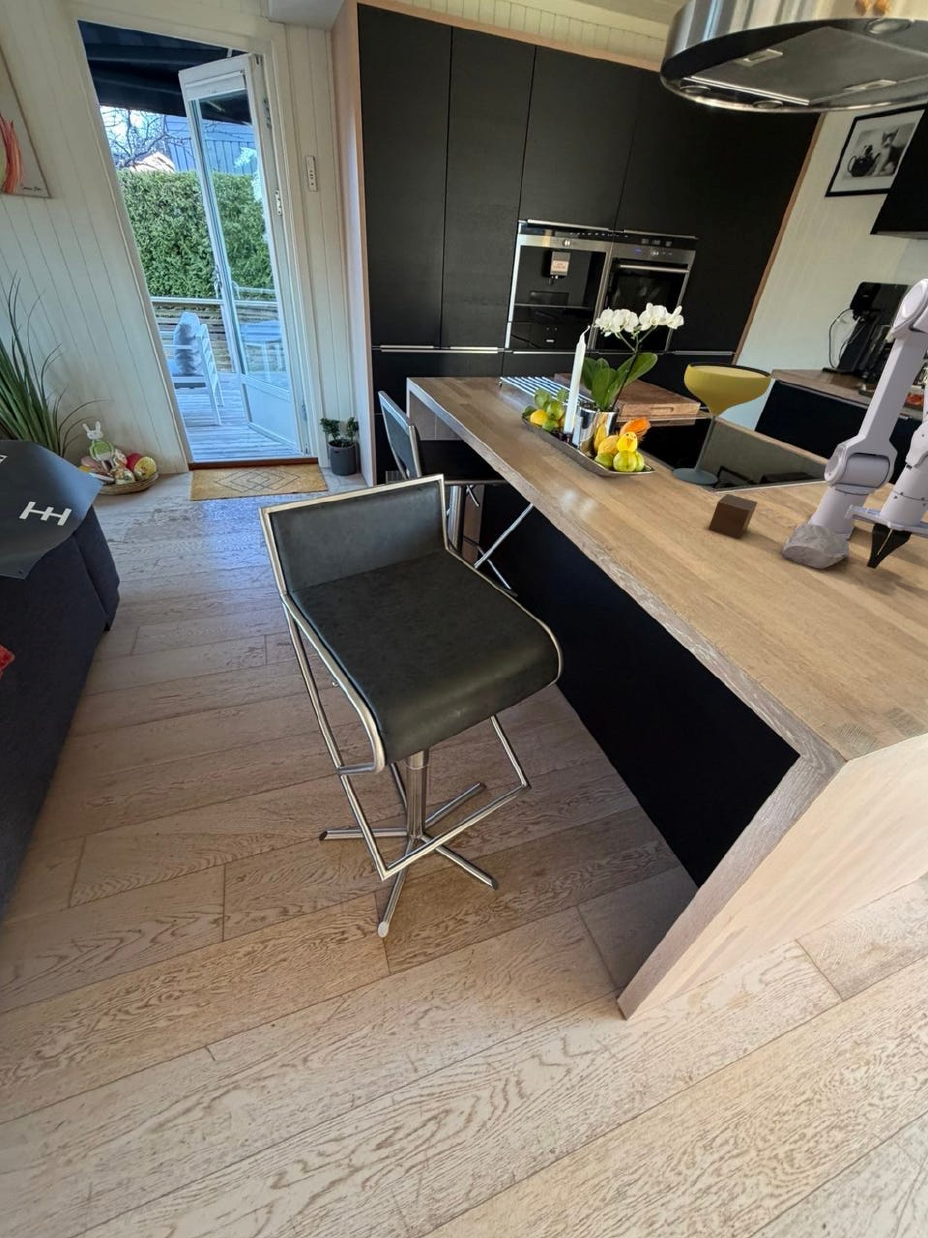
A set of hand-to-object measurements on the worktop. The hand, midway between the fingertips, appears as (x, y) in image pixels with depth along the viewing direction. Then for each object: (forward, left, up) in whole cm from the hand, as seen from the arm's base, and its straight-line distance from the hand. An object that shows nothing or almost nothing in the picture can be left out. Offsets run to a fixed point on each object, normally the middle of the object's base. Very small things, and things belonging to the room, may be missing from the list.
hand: (871, 565), depth 94 cm
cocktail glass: (-27, -41, -2) cm, 49 cm away
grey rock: (0, -9, -2) cm, 9 cm away
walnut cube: (0, -25, -1) cm, 25 cm away
